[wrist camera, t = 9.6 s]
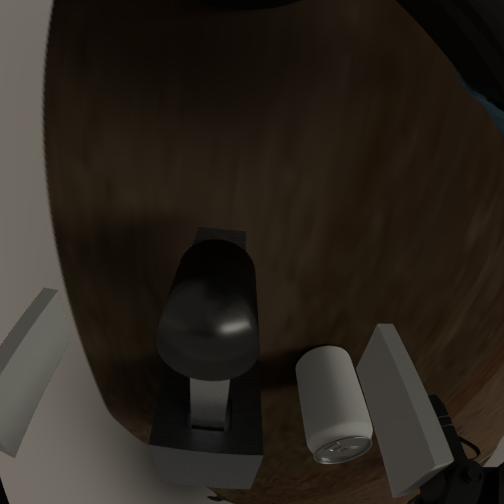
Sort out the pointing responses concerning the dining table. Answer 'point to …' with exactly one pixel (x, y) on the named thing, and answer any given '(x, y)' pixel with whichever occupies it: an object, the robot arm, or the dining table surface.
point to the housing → (208, 435)
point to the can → (332, 406)
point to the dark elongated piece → (211, 321)
